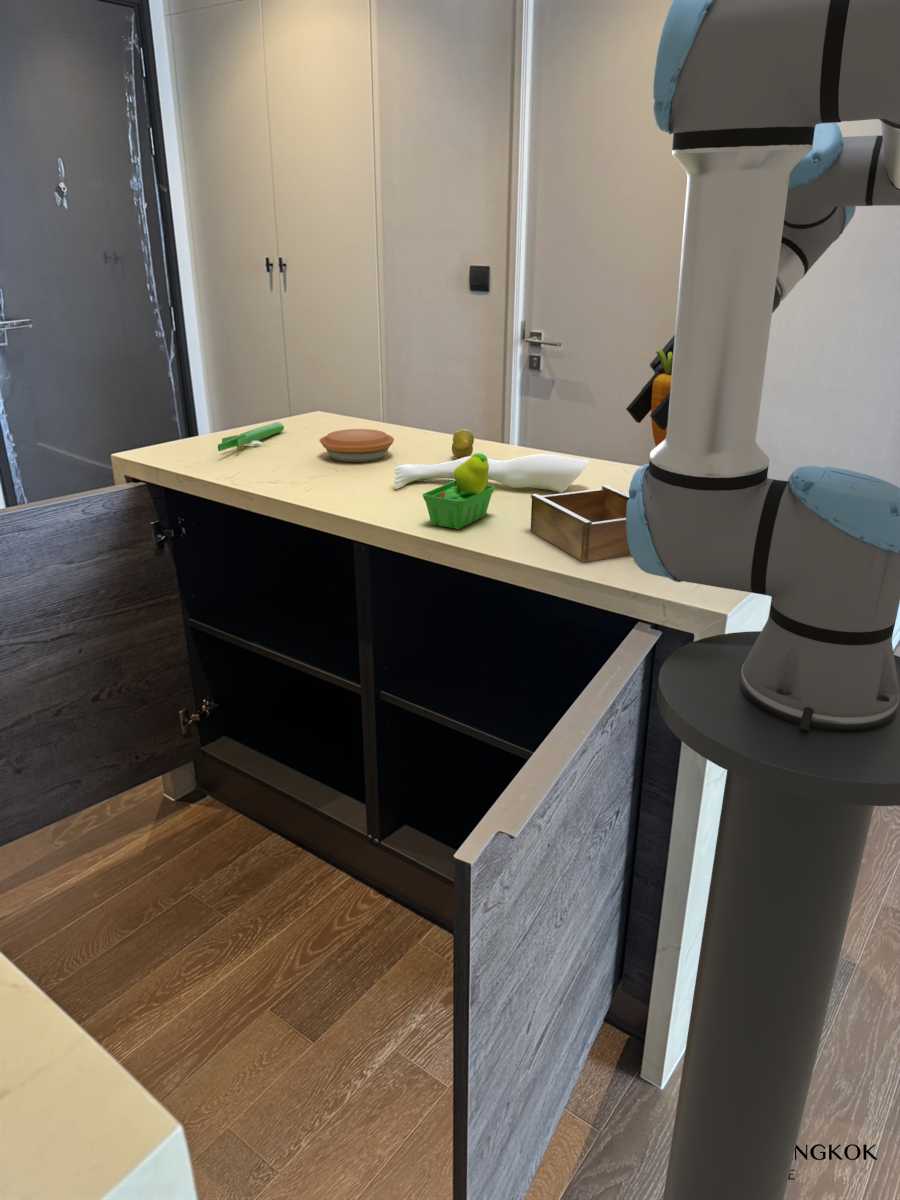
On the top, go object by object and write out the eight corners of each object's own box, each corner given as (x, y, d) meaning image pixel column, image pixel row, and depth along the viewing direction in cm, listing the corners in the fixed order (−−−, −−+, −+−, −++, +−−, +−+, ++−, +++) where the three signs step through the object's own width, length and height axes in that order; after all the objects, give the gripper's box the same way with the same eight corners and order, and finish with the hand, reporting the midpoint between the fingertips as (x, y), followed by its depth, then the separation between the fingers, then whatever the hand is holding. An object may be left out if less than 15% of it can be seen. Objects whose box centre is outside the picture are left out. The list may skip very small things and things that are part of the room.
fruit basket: (456, 508, 146) (456, 441, 142) (502, 516, 142) (504, 448, 138) (420, 525, 137) (419, 455, 133) (469, 534, 133) (469, 462, 128)
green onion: (270, 435, 204) (209, 456, 177) (270, 421, 203) (208, 440, 176) (290, 436, 203) (231, 458, 176) (289, 422, 202) (230, 442, 175)
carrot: (638, 459, 117) (648, 345, 112) (656, 453, 121) (667, 342, 115) (671, 465, 114) (683, 348, 109) (689, 459, 118) (701, 345, 112)
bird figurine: (455, 467, 172) (455, 435, 170) (448, 451, 186) (448, 420, 184) (477, 467, 173) (477, 434, 170) (468, 450, 186) (468, 420, 184)
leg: (589, 460, 148) (590, 447, 158) (391, 464, 154) (403, 451, 164) (589, 498, 151) (589, 483, 160) (394, 500, 157) (406, 485, 166)
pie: (361, 445, 191) (360, 422, 189) (409, 456, 181) (409, 432, 179) (305, 456, 181) (304, 432, 179) (353, 469, 171) (352, 444, 169)
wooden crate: (663, 550, 126) (667, 511, 124) (583, 562, 121) (585, 522, 119) (604, 520, 140) (607, 485, 137) (529, 530, 135) (531, 494, 132)
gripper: (822, 310, 109) (702, 451, 109) (727, 302, 123) (621, 426, 123) (796, 265, 104) (672, 411, 105) (701, 262, 119) (592, 390, 119)
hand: (644, 419), depth 114 cm, fingers closed on carrot, 5 cm apart
